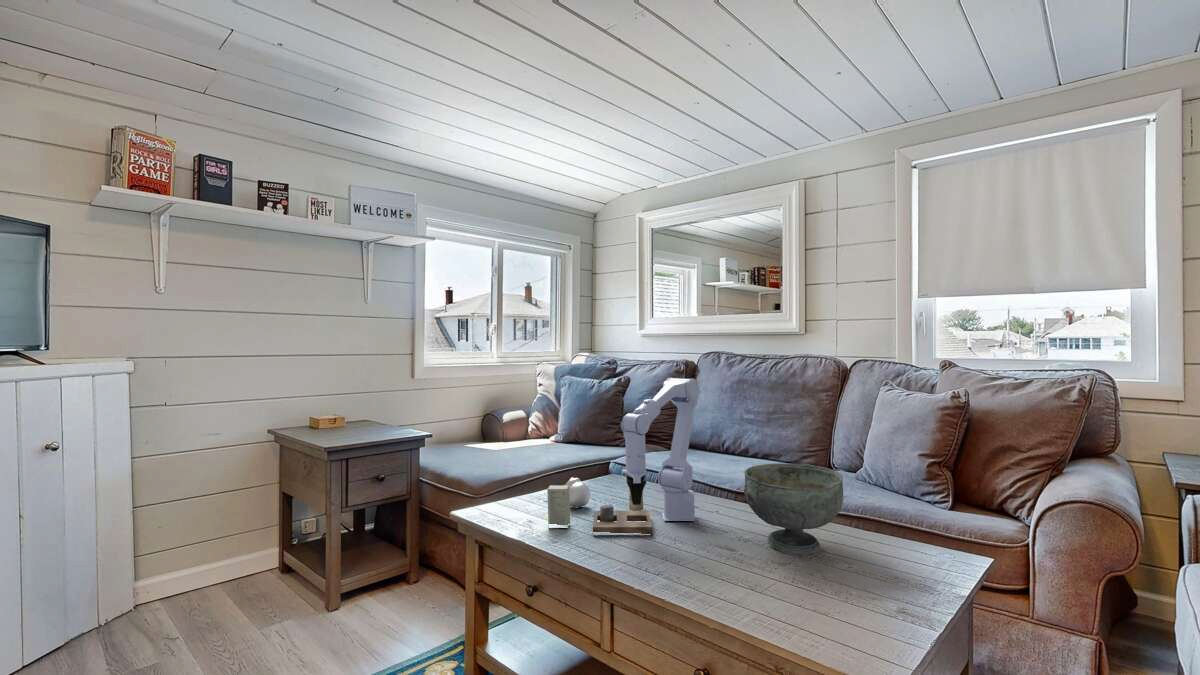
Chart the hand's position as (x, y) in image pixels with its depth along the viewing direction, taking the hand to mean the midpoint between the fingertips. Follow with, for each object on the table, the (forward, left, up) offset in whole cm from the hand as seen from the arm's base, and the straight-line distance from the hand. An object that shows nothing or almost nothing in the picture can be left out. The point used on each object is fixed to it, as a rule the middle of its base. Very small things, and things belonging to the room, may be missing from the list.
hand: (636, 502), depth 165 cm
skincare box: (+23, -7, -10) cm, 26 cm away
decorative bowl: (-42, +10, -10) cm, 44 cm away
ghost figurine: (+19, -27, -10) cm, 34 cm away
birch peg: (0, 0, -2) cm, 2 cm away
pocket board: (+4, -7, -9) cm, 12 cm away
